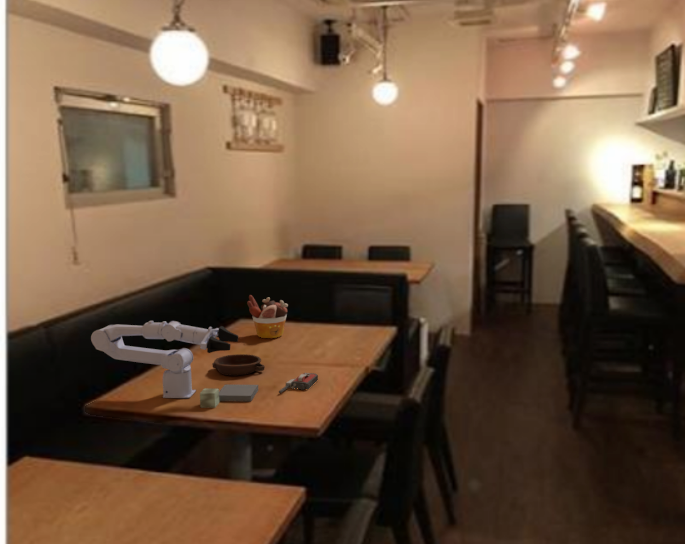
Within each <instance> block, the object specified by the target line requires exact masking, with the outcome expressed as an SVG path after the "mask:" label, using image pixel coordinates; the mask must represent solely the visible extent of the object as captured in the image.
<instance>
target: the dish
mask: <svg viewBox="0 0 685 544" xmlns="http://www.w3.org/2000/svg"><path fill="white" fill-rule="evenodd" d="M261 362H262V358H261V357H260V356H257V355H255V354H244V353H243V354H241V353H238V354H228V355H222V356H220V357H218V358H216V359H214V361H213V362H212V364H211V365H212V368H213V369H215V370H218V372H219V373H220V374H221V375H224V376H232V377H233V376H234V377H235V376H236V377H237V376H243V375H244V376H245V375H250V374H252V373H254V372H261V371H264V370H265V367H266V365H264V364H262V363H261Z"/></svg>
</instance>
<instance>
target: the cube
mask: <svg viewBox="0 0 685 544" xmlns="http://www.w3.org/2000/svg"><path fill="white" fill-rule="evenodd" d="M219 391H220V389H219V388H207V387H206V388H203V389H202V390H201V391H200V392H199V402H200V403H199V404H200V405H199V406H200V408H203V409H206V408H209V409H212V408H213V409H214V408H215V409H216V408H217V406H219V404H220V401H219Z"/></svg>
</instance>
